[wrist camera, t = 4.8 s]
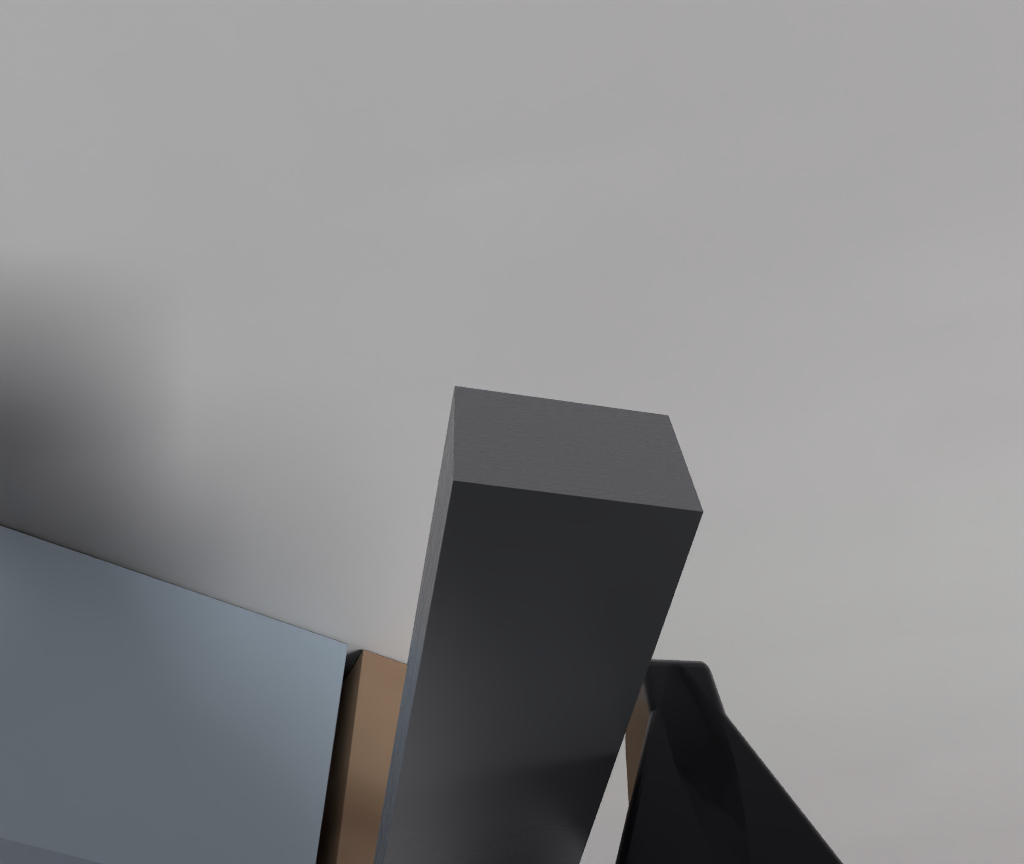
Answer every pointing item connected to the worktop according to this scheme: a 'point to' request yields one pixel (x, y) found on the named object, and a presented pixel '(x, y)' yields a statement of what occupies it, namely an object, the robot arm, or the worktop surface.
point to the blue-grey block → (154, 719)
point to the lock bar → (532, 626)
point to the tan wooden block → (360, 760)
